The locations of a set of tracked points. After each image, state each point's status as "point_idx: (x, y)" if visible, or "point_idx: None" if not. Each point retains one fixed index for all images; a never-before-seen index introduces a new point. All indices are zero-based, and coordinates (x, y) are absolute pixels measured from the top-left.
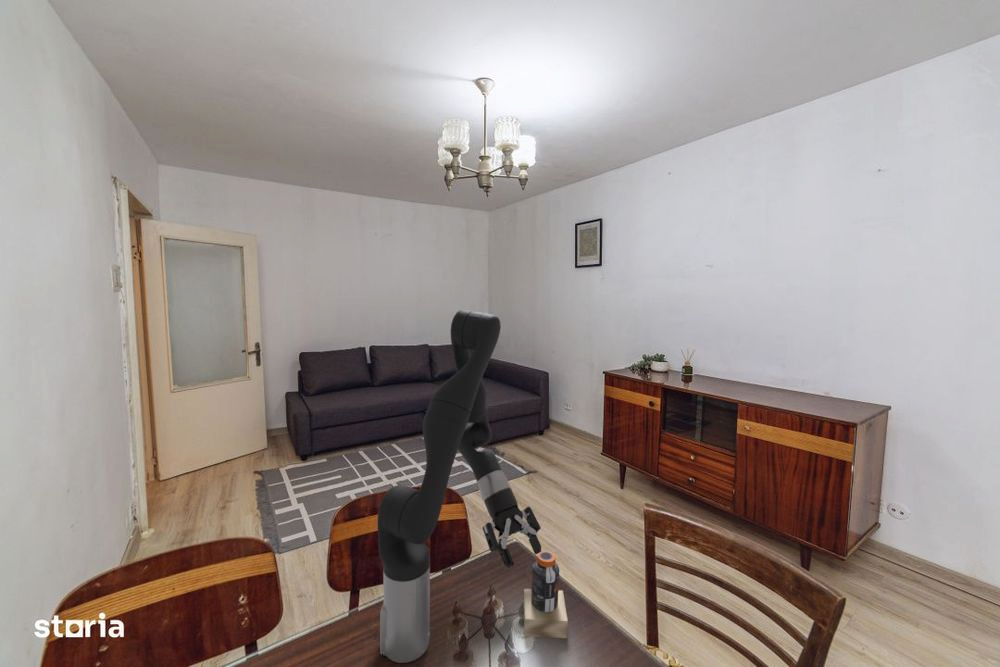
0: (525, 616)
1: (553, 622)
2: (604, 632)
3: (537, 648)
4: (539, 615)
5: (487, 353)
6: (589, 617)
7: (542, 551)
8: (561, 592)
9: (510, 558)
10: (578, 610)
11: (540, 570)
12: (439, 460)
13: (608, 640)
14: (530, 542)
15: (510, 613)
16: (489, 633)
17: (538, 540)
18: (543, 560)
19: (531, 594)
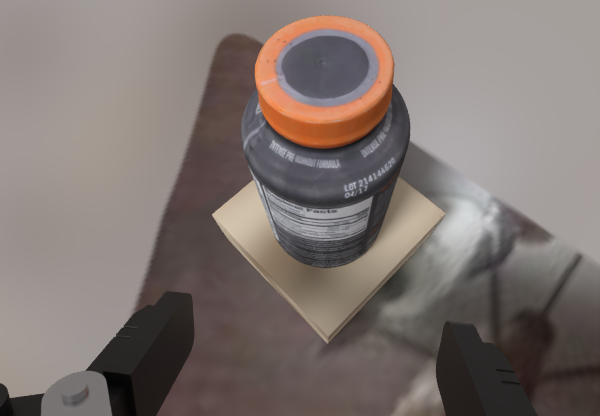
0: (436, 221)
1: None
2: (226, 106)
3: (423, 185)
4: None
5: None
6: (206, 158)
7: (302, 113)
8: (225, 211)
9: (472, 350)
10: (204, 194)
11: (394, 99)
12: None
13: (243, 88)
14: (155, 407)
15: (402, 347)
16: (531, 331)
17: (110, 343)
18: (382, 45)
19: (370, 241)
